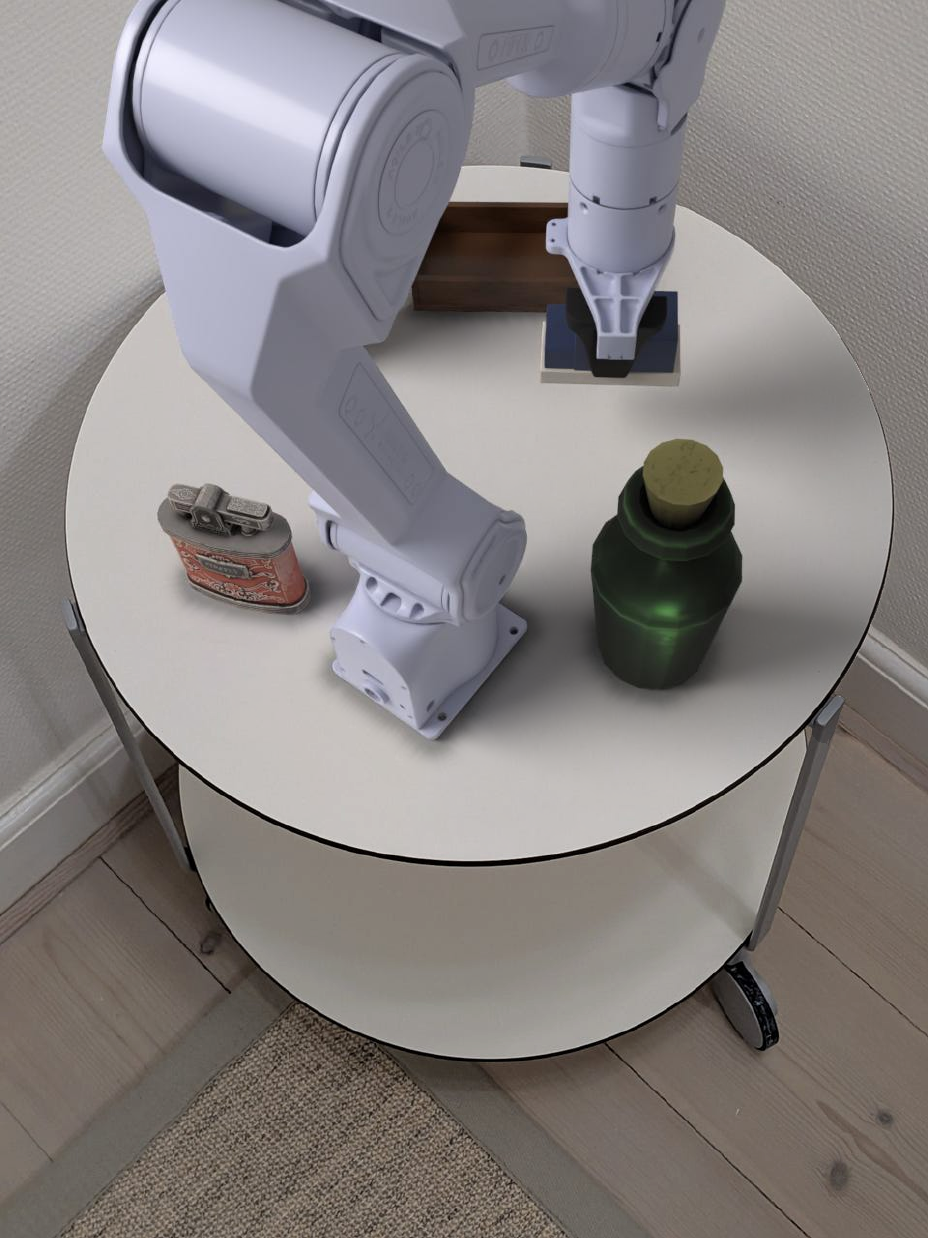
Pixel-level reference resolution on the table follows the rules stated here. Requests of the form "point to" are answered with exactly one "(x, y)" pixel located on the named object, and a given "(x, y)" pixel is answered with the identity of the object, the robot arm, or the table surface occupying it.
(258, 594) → the lighter
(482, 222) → the tray
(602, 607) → the potion bottle
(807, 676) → the table surface
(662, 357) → the chalkboard eraser
